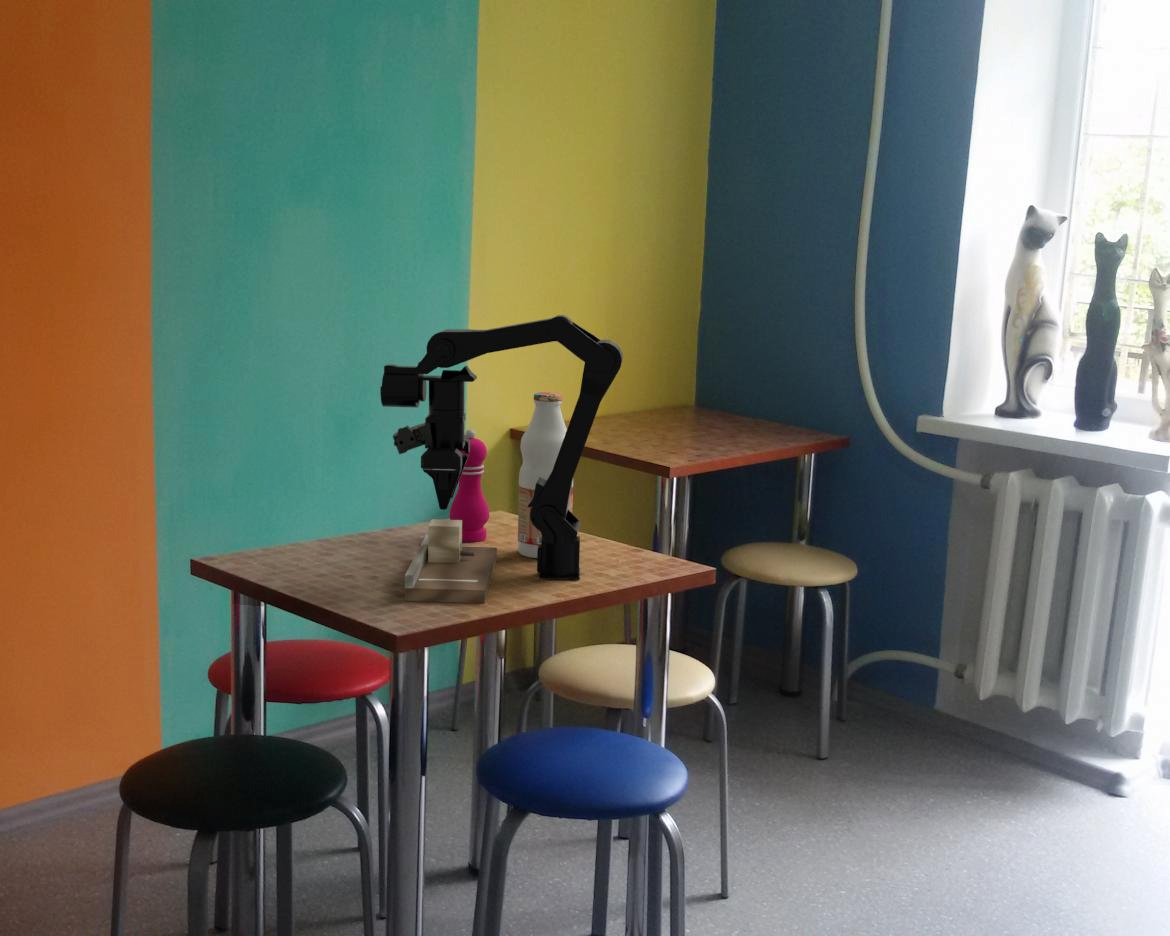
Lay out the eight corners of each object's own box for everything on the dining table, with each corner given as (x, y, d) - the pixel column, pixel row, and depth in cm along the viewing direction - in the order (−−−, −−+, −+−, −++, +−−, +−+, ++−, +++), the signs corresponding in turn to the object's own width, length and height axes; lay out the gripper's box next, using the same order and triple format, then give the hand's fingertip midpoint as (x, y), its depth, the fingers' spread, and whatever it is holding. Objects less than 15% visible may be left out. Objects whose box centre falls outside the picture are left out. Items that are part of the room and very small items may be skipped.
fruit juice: (506, 553, 239) (509, 393, 235) (539, 544, 247) (543, 389, 242) (549, 562, 234) (553, 398, 229) (582, 553, 242) (586, 394, 237)
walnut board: (496, 558, 236) (497, 536, 235) (484, 603, 208) (484, 577, 207) (426, 557, 236) (426, 534, 235) (404, 600, 208) (404, 575, 207)
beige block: (475, 555, 229) (475, 520, 228) (472, 563, 224) (472, 527, 223) (431, 554, 229) (431, 519, 228) (428, 562, 224) (428, 525, 223)
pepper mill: (451, 543, 246) (452, 432, 243) (447, 534, 253) (448, 426, 250) (491, 542, 248) (493, 432, 244) (486, 533, 255) (487, 426, 251)
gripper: (404, 400, 231) (404, 491, 234) (388, 415, 213) (388, 514, 216) (470, 401, 231) (470, 493, 234) (460, 416, 213) (459, 515, 216)
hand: (446, 503), depth 225 cm, fingers open, 9 cm apart
